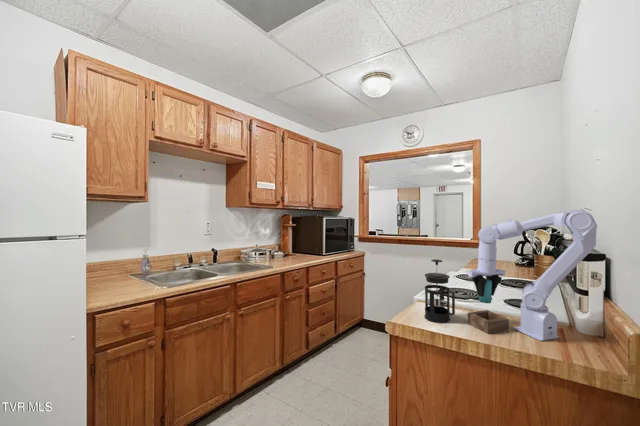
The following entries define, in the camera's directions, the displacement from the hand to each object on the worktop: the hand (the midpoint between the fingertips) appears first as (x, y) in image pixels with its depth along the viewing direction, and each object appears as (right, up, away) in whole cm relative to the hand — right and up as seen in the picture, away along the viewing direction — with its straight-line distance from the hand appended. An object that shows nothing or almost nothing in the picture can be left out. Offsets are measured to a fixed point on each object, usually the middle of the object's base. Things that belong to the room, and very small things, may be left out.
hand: (485, 295), depth 104 cm
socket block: (-1, -11, -3) cm, 11 cm away
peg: (0, -2, 0) cm, 2 cm away
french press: (-16, -11, +5) cm, 19 cm away
